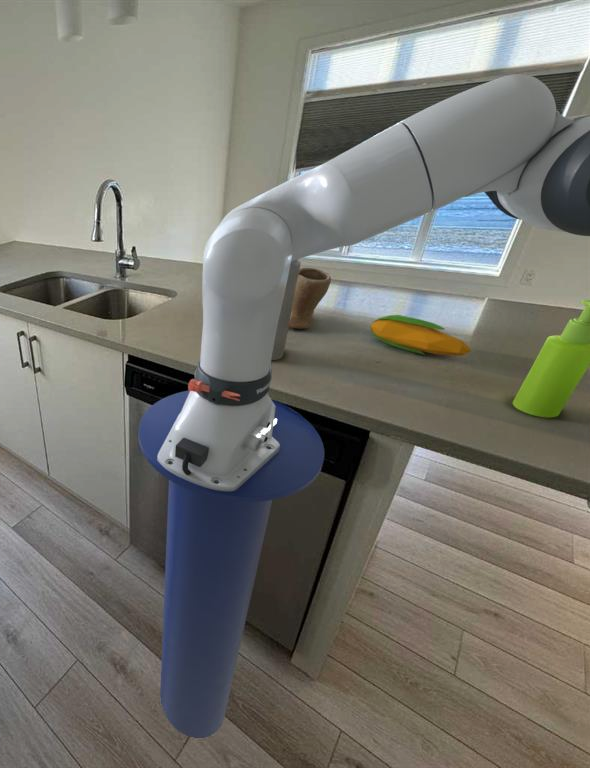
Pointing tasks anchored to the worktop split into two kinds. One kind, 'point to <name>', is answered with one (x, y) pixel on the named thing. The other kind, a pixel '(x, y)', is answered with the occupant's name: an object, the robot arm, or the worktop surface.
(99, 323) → the worktop surface
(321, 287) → the stone cup
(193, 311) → the worktop surface
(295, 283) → the thermos bottle
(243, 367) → the robot arm
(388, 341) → the corn
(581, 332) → the soap dispenser
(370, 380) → the worktop surface
